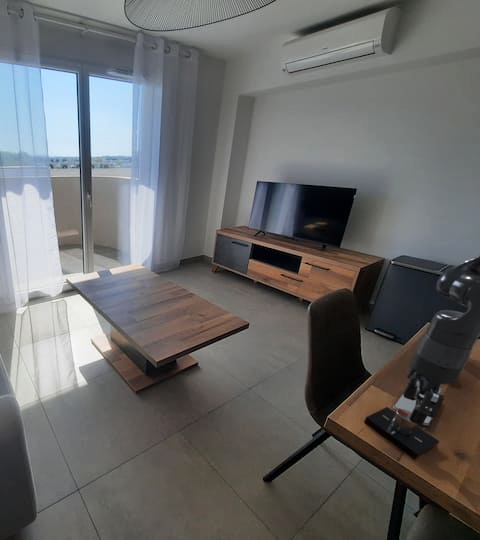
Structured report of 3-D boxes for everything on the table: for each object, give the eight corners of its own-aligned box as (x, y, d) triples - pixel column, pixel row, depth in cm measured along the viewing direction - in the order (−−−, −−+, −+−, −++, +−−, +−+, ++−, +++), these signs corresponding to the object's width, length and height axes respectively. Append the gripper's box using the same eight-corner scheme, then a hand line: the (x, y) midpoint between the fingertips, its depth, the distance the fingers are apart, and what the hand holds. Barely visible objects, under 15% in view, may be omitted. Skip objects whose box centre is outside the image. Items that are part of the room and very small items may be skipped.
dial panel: (436, 446, 71) (440, 440, 70) (414, 460, 68) (418, 453, 67) (384, 412, 80) (387, 406, 79) (363, 422, 77) (366, 416, 76)
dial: (415, 432, 72) (423, 418, 70) (406, 437, 71) (413, 423, 69) (396, 419, 76) (403, 405, 74) (387, 424, 74) (393, 410, 72)
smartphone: (442, 400, 83) (428, 425, 75) (441, 403, 83) (427, 428, 75) (409, 384, 88) (392, 406, 81) (407, 387, 89) (391, 409, 81)
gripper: (411, 335, 72) (387, 385, 78) (423, 367, 61) (395, 422, 67) (454, 345, 68) (426, 398, 74) (476, 382, 57) (441, 440, 63)
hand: (411, 409), depth 70 cm, fingers open, 8 cm apart
